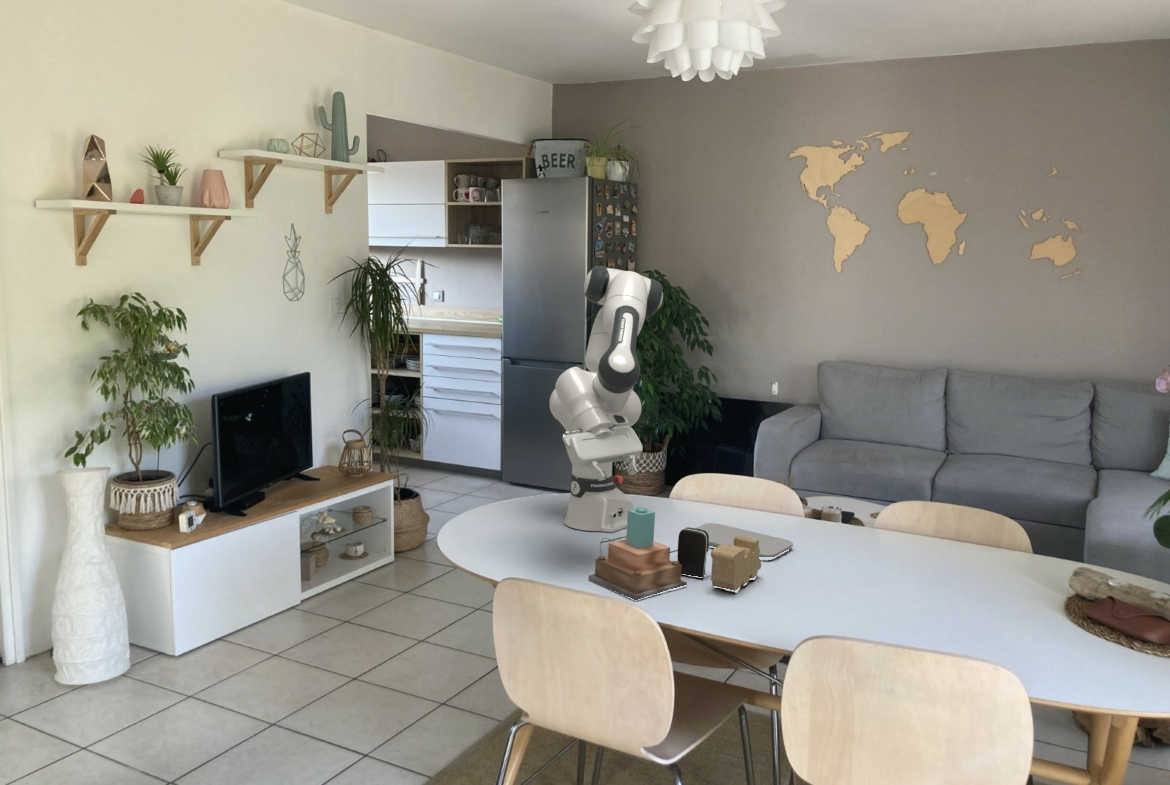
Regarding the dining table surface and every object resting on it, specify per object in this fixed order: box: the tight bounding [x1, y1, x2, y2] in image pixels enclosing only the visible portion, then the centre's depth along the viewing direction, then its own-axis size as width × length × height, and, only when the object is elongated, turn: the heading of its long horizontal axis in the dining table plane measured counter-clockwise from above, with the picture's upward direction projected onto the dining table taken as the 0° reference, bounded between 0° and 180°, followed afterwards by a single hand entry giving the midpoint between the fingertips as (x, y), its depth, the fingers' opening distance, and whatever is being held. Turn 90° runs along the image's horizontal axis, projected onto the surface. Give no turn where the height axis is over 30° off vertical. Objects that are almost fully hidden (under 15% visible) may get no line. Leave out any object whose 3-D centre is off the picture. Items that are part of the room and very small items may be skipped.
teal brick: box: [625, 506, 656, 549], centre depth 215 cm, size 4×4×9 cm
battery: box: [677, 526, 710, 578], centre depth 223 cm, size 7×4×11 cm, turn 64°
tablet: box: [695, 522, 794, 557], centre depth 249 cm, size 16×26×2 cm, turn 54°
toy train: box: [710, 535, 762, 591], centre depth 218 cm, size 6×17×10 cm, turn 147°
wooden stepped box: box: [588, 538, 688, 600], centre depth 216 cm, size 16×16×9 cm
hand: (619, 476), depth 219 cm, fingers open, 8 cm apart
